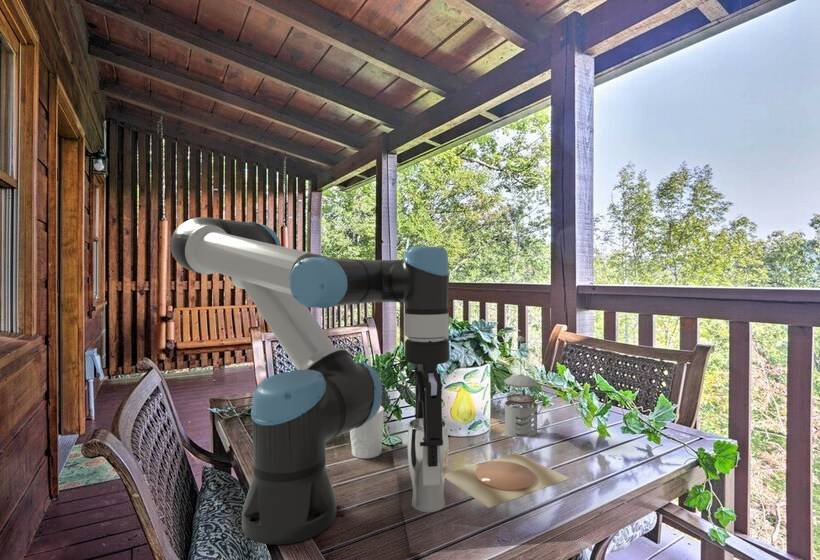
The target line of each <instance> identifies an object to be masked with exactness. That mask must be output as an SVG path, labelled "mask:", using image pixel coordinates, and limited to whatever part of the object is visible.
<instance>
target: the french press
mask: <svg viewBox="0 0 820 560" xmlns="http://www.w3.org/2000/svg"><path fill="white" fill-rule="evenodd" d="M516 342H519V345H520V347H519V348H520V350H519V352H520V353H519V355H520V357H519V358H520V359H519V360H520V364H519V366H520V368H519V372H520V373H519V374H513V375H510V376H509V377H507V378H506V379H504V384H506V385H507V386H508V387H509V386H510V387H513V388H524V389H525V388H526V389H527V388H529V390H530V392H536V393H537V397H536V396H535V397H534V396H533V395H531V394H524V393H511V394H507V396H506V397H505V398H506V401H505V402H504V418H505V419H504V428H505V429H504V431H503V432H502V433H501V434H500V436H501V437H506V436H509V437H510V436H516V437H518V436H521V438H522V437H525V438H526V437H534V436H536V435H539V433H538V415H539V414H540V412H541V411H542V410H543V406H544V401H545V400H544V399H545V398H544V392H543V390H542V388H541V387H539V386H538V384H539V382H538V381H537V380H536V379H535V378H533V377H531V376H529V375H524V374H522V342H525V337H524V336H522V335H519V336H517V337H516ZM533 387H534V389H532V388H533ZM538 389H539V391H540V392H541V396H542V404H541V408H540V409H539V410H538V406H539V401H540V393H539V391H538ZM536 398H537V399H536ZM536 400H537V401H536ZM535 401H536V402H537V403H536V402H535ZM532 403H533V407H532ZM514 404H515V405H514ZM512 405H513V406H512ZM516 405H517V406H516ZM518 405H519V406H518ZM520 406H521V407H520Z"/></svg>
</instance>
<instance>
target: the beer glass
mask: <svg viewBox="0 0 820 560" xmlns="http://www.w3.org/2000/svg"><path fill="white" fill-rule="evenodd" d="M442 440H443V445H442V446H440V484H438V485H423V446H420V442H424V428H423V417H422V418H413V419H412V420H410V421H409V422H408V430H407V442H406V443H407V444H406V445H407V446H406V447H407V448H406V449H407V450H406V451H407V461H408V469H409V474H410V479H411V485H412V488H411V489H412V497H411V498H412V499H411V506H412V507H413V509H415V510H417V511H419V512H422V513H423V512H425V513H432V512H437V511H440V510H442V509H443V508H444V507H445V505H446V501H445V495H444V490H445V482H446V481H445V480H446V478H445V475H446V473H447V469H448V463H449V461H448V460H449V435H448V423H447V422H446V421H445V420H443V419H442Z"/></svg>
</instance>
